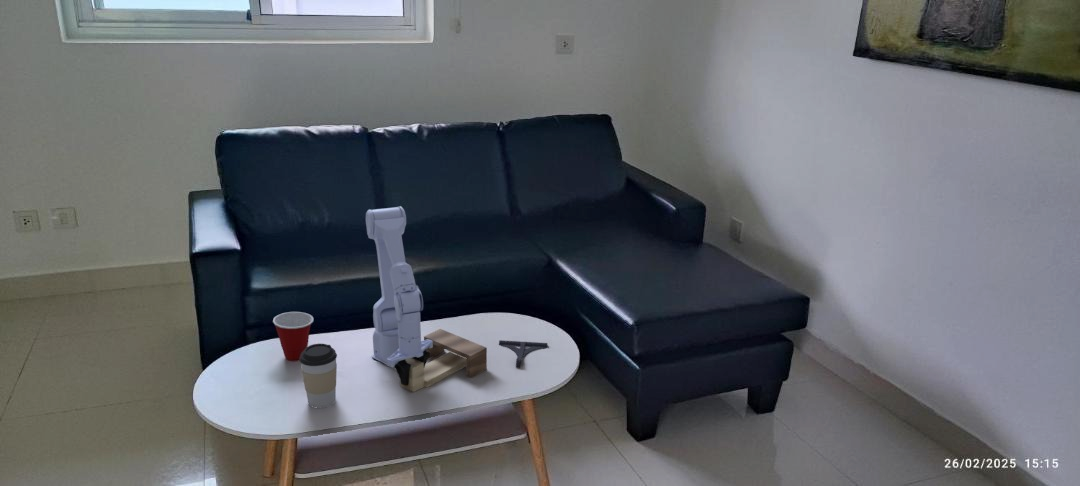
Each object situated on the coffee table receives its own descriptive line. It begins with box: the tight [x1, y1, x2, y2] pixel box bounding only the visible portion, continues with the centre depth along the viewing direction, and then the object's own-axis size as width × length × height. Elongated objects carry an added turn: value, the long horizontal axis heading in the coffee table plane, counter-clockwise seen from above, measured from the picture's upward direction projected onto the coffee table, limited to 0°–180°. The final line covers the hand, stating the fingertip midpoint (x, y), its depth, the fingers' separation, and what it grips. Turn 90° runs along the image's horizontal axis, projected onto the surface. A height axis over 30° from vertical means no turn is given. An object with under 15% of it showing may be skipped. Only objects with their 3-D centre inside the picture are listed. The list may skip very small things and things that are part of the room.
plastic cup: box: [272, 311, 314, 362], centre depth 208 cm, size 11×11×12 cm
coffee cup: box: [299, 343, 338, 409], centre depth 186 cm, size 9×9×15 cm
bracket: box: [498, 339, 549, 369], centre depth 214 cm, size 14×15×3 cm
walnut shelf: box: [423, 328, 488, 379], centre depth 208 cm, size 18×6×7 cm, turn 52°
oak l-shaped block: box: [399, 351, 467, 393], centre depth 201 cm, size 7×20×7 cm, turn 143°
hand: (411, 380), depth 196 cm, fingers open, 4 cm apart
